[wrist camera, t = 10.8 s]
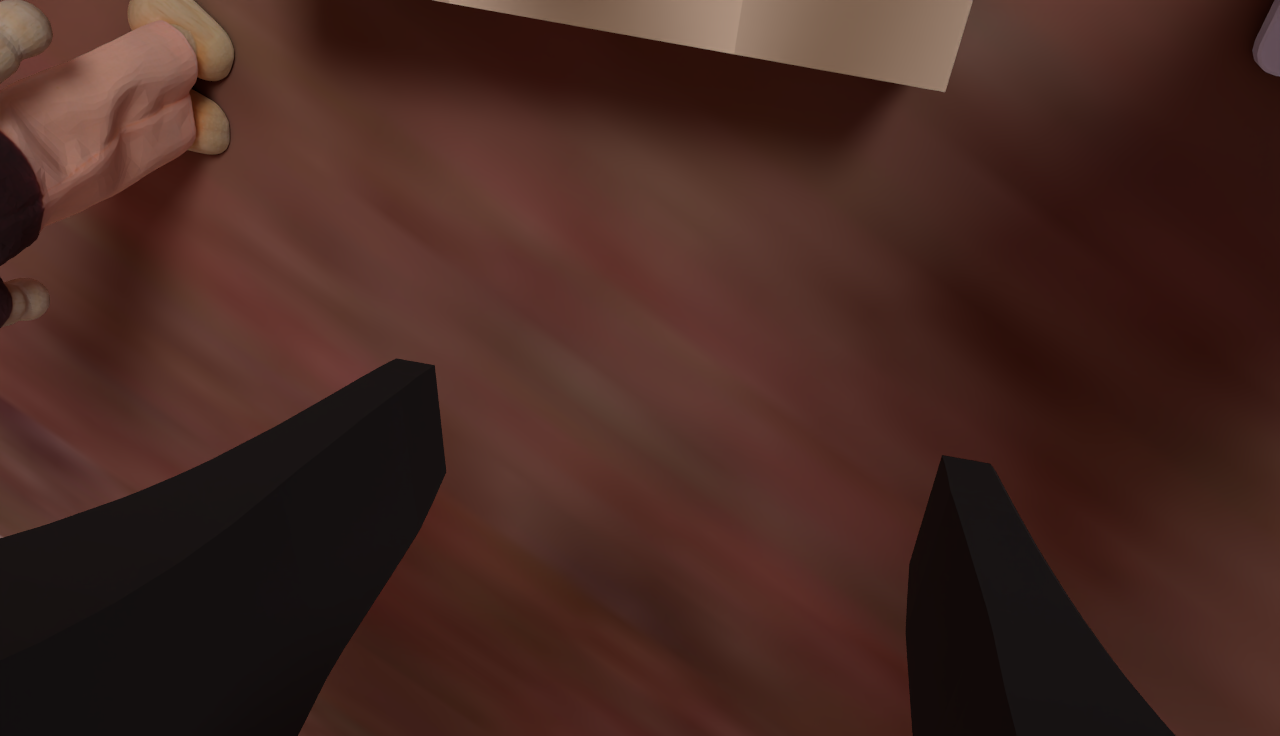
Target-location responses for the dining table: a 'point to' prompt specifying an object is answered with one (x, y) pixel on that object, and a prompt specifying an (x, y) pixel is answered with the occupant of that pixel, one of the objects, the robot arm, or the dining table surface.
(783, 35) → the maple hole block
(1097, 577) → the dining table surface
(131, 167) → the grandmother figurine
